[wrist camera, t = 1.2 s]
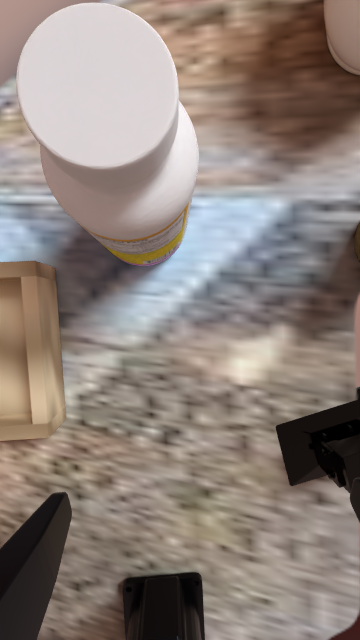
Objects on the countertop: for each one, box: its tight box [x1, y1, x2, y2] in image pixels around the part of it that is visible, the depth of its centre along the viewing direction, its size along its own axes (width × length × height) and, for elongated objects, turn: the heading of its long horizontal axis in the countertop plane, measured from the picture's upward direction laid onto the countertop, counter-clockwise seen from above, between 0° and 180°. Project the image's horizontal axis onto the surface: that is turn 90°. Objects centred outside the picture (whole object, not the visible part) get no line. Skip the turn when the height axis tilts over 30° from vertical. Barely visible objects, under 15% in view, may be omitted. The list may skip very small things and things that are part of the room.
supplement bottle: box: [16, 3, 199, 266], centre depth 14 cm, size 7×7×13 cm
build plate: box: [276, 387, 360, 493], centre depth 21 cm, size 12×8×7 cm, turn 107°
